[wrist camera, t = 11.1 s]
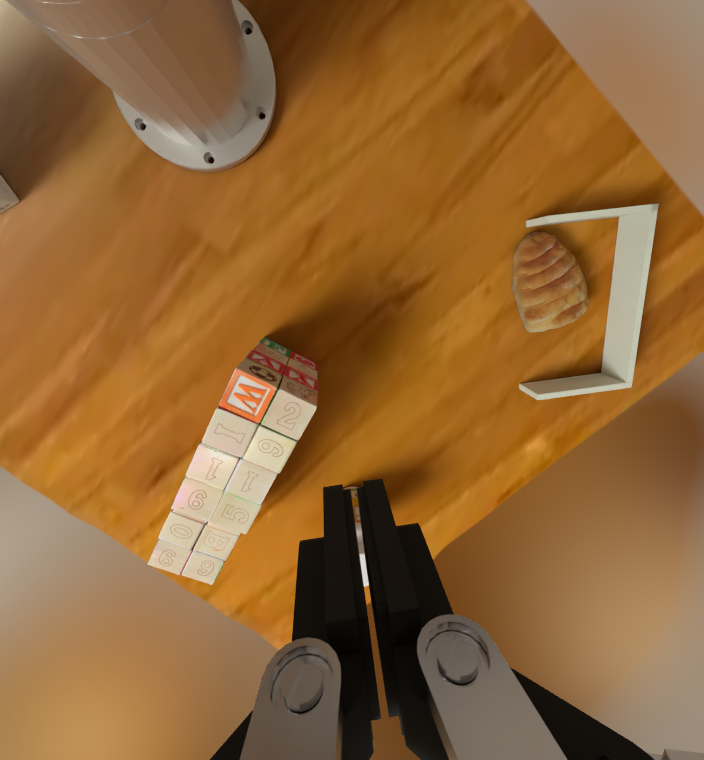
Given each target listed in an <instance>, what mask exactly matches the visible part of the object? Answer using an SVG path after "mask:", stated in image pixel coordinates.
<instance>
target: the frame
mask: <svg viewBox="0 0 704 760" xmlns="http://www.w3.org/2000/svg"><path fill="white" fill-rule="evenodd" d="M658 205H659V203H658V204H649V205H640V206H631V207H622V208H613V209H605V210H596V211H587V212H578V213H569V214H560V215H551V216H545V217H541V218H536V219H532V220H527V221H526V227H535V226H544V225H552V224H561V223H570V222H579V221H588V220H597V219H606V218H615V217H619V224H618V232H617V241H616V249H615V258H614V266H613V275H612V283H611V292H610V300H609V309H608V317H607V326H606V334H605V343H604V351H603V360H602V368H601V373H596V374H589V375H581V376H574V377H567V378H559V379H552V380H544V381H537V382H529V383H522V384H519V389H520V390H522V391H523V392H525V393H527V394H528V395H530V396H532V397H533V398H535V399H537V400H543V399H550V398H557V397H565V396H572V395H579V394H587V393H594V392H601V391H609V390H616V389H623V388H631V387H632V381H633V374H634V367H635V361H636V354H637V347H638V340H639V334H640V327H641V320H642V313H643V306H644V300H645V293H646V286H647V279H648V273H649V266H650V259H651V252H652V245H653V239H654V232H655V225H656V218H657V212H658Z"/></svg>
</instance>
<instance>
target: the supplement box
mask: <svg viewBox="0 0 704 760" xmlns="http://www.w3.org/2000/svg"><path fill="white" fill-rule="evenodd" d="M17 203H19V199H18V198H17V196H16V195H15V194H14V192H13V191H12V190H11V188H10V187H9V186H8V184H7V183H6V181H5V180H4V179H3V177H2V176H1V175H0V213H2V212H3V211H5V210H7V209H8V208H10V207H12V206H14V205H15V204H17Z"/></svg>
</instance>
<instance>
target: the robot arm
mask: <svg viewBox="0 0 704 760" xmlns="http://www.w3.org/2000/svg"><path fill="white" fill-rule="evenodd" d="M6 1H7V2H8V3H9V4H11V5H12V6H13V7H14V8H15V9H17V10H18V11H19V12H20V13H21V14H23V15H24V16H25V17H26V18H27V19H28V20H30V21H31V22H32V23H33V24H34V25H36V26H37V27H38V28H39V29H40V30H41V31H43V32H44V33H45V34H46V35H47V36H49V37H50V38H51V39H52V40H53V41H54V42H56V43H57V44H58V45H59V46H60V47H62V48H63V49H64V50H65V51H66V52H67V53H69V54H70V55H71V56H72V57H73V58H74V59H76V60H77V61H78V62H79V63H80V64H82V65H83V66H84V67H85V68H86V69H87V70H89V71H90V72H91V73H92V74H93V75H95V76H96V77H97V78H98V79H99V80H100V81H102V82H103V83H104V84H105V85H106V86H108V87H109V88H110V89H111V90H112V92H113V95H114V98H115V101H116V103H117V105H118V107H119V109H120V111H121V113H122V115H123V117H124V119H125V120H126V122H127V123H128V124H129V126H130V127H131V128H132V130H133V131H134V132H135V134H136V135H137V136H138V137H139V138H140V139H141V140H142V141H143V142H144V143H145V144H146V145H147V146H148V147H149V148H150V149H152V150H153V151H154V152H156V153H157V154H158V155H160V156H161V157H163V158H165V159H166V160H168V161H170V162H171V163H173V164H175V165H178V166H180V167H183V168H186V169H189V170H194V171H200V172H215V171H221V170H225V169H229V168H232V167H234V166H236V165H238V164H240V163H241V162H243V161H245V160H246V159H247V158H248V157H249V156H251V155H252V154H253V153H254V152H255V151H256V150H257V148H258V147H259V146H260V145H261V143H262V142H263V141H264V139H265V137H266V135H267V133H268V131H269V129H270V127H271V123H272V119H273V116H274V112H275V105H276V94H277V92H276V77H275V72H274V67H273V61H272V58H271V55H270V52H269V48H268V45H267V42H266V40H265V38H264V36H263V34H262V32H261V30H260V28H259V26H258V24H257V23H256V21H255V20H254V18H253V17H252V15H251V14H250V13H249V11H248V10H247V8H246V7H245V6H244V5H243V4H242V3H241V2H240V1H239V0H6ZM248 31H250V32H252V33H251V34H249V35H247V34H246V33H247V32H248ZM262 114H263V115H265V119H263V120H261V119H260V115H262ZM145 125H146V128H145V130H143V126H145ZM210 158H214V162H213V163H212V164H211V163H210V162H209V160H210ZM363 486H364V487H358V488H357V496H358V505H359V513H360V521H361V529H362V537H363V545H364V553H365V561H366V569H367V576H368V582H369V589H370V595H371V602H372V608H373V615H374V621H375V628H376V635H377V641H378V648H379V654H380V661H381V667H382V674H383V681H384V687H385V694H386V699H387V706H388V712H389V717H394V716H399V719H400V725H401V731H402V735H404V736H405V741H406V746H407V747H408V748H409V749H410V750H411V751H412V752H413V753H414V754H415V755H417V756H418V757H419V758H420V759H421V760H704V753H696V752H687V751H679V750H671V749H664V753H663V755H657V754H648V753H646V752H645V751H643V750H642V749H641V748H639V747H638V746H637V745H635V744H634V743H633V742H631V741H629V740H628V739H626V738H624V737H623V736H621V735H619V734H618V733H616V732H615V731H613V730H611V729H610V728H608V727H607V726H605V725H603V724H602V723H600V722H598V721H597V720H595V719H593V718H592V717H590V716H589V715H587V714H585V713H584V712H582V711H580V710H579V709H577V708H576V707H574V706H572V705H571V704H569V703H567V702H566V701H564V700H563V699H561V698H559V697H558V696H556V695H554V694H553V693H551V692H549V691H548V690H546V689H544V688H543V687H541V686H540V685H538V684H536V683H535V682H533V681H531V680H530V679H528V678H527V677H525V676H523V675H522V674H520V673H519V672H517V671H515V670H514V669H512V668H510V667H509V665H508V664H507V662H506V660H505V659H504V657H503V656H502V654H501V653H500V651H499V649H498V648H497V646H496V645H495V643H494V641H493V640H492V638H491V637H490V636H489V635H488V634H487V632H486V631H485V630H484V629H483V628H482V627H481V626H479V625H478V624H477V623H475V622H474V621H473V620H470V619H468V618H465V617H463V616H459V615H454V614H453V611H452V609H451V606H450V604H449V602H448V598H447V596H446V594H445V590H444V588H443V585H442V583H441V580H440V577H439V575H438V572H437V570H436V567H435V564H434V562H433V559H432V557H431V554H430V551H429V549H428V546H427V544H426V541H425V538H424V536H423V533H422V531H421V528H420V526H419V524H418V523H415V524H408V525H402V526H396V525H395V521H394V518H393V514H392V511H391V507H390V504H389V501H388V497H387V494H386V490H385V487H384V483H383V480H382V479H377V480H370V481H363ZM323 501H324V537H322V538H316V539H309V540H303V541H300V544H299V554H298V568H297V581H296V594H295V607H294V620H293V634H292V642H291V643H289V644H286V645H285V646H284V647H283V648H281V649H280V650H279V651H278V652H277V653H276V654H275V655H274V657H273V658H272V659H271V661H270V662H269V663H268V665H267V667H266V670H265V672H264V674H263V677H262V680H261V683H260V687H259V691H258V695H257V698H256V702H255V705H254V709H253V711H252V712H251V713H250V714H249V715H248V716H247V717H246V719H245V720H244V721H243V722H242V723H241V724H240V726H239V727H238V728H237V729H236V730H235V731H234V732H233V734H232V735H231V736H230V737H229V738H228V739H227V741H226V742H225V743H224V744H223V745H222V746H221V747H220V749H219V750H218V751H217V752H216V753H215V754H214V755H213V757H212V758H211V759H210V760H369V759H370V758H371V756H372V754H373V752H374V751H373V742H372V741H373V734H372V725H371V720H377V719H380V718H381V715H380V708H379V701H378V692H377V684H376V677H375V670H374V661H373V654H372V645H371V638H370V630H369V622H368V616H367V607H366V600H365V592H364V585H363V577H362V570H361V563H360V555H359V548H358V541H357V533H356V526H355V519H354V511H353V504H352V496H351V489H344V490H343V485H335V486H328V487H324V488H323Z"/></svg>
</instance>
